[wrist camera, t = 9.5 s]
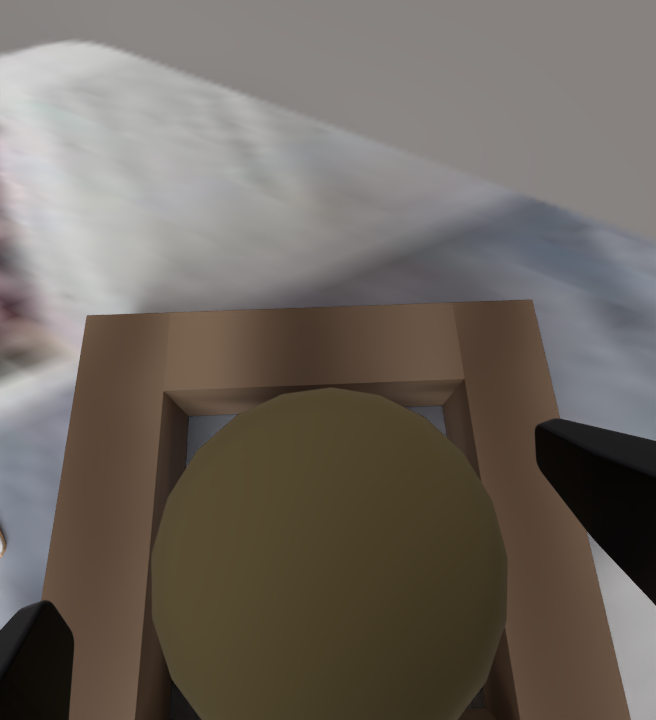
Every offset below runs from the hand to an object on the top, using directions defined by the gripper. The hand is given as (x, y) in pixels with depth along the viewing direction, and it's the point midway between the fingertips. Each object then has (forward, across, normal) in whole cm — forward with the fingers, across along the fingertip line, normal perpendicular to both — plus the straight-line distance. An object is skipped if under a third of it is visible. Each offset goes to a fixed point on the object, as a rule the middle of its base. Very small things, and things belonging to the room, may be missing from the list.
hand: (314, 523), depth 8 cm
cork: (+6, 0, +6) cm, 8 cm away
